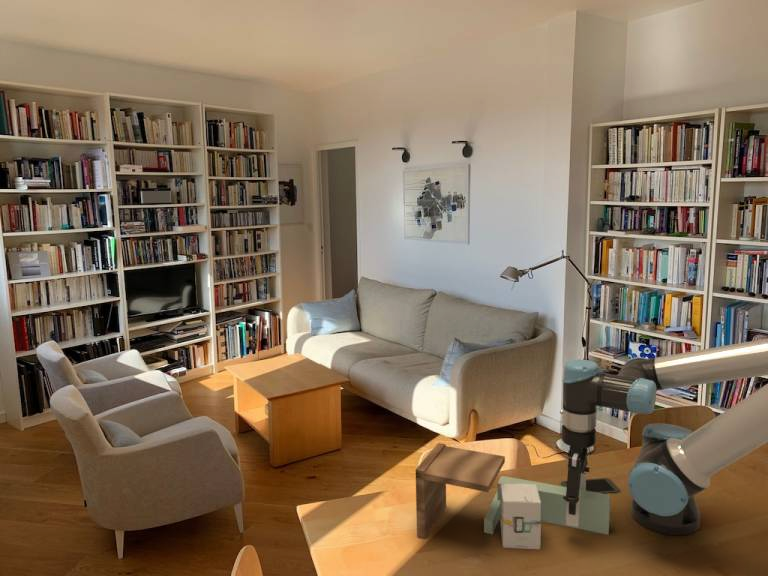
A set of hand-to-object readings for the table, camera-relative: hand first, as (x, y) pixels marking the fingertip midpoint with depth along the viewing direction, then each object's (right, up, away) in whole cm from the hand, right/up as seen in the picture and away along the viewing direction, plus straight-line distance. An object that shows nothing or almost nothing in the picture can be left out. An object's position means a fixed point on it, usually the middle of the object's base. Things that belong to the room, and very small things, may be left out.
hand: (576, 510), depth 139 cm
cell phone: (+9, -1, +17) cm, 19 cm away
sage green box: (-7, -4, -1) cm, 8 cm away
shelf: (-27, -4, 0) cm, 28 cm away
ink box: (-15, -5, -4) cm, 16 cm away
